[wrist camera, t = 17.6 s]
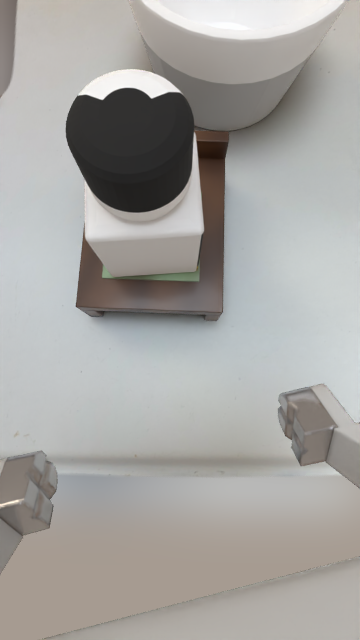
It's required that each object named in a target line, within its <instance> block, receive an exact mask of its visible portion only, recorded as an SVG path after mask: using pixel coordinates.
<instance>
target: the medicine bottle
mask: <svg viewBox="0 0 360 640" xmlns="http://www.w3.org/2000/svg"><path fill="white" fill-rule="evenodd" d="M66 138H67V142H68V146H69V148H70V150H71V153H72V155H73V157H74V159H75V161H76V163H77V165H78V167H79V169H80V171H81V173H82V175H83V177H84V194H85V238H86V241H87V242H88V243H89V245H90V246H91V248H92V249H93V250H94V252H95V253H96V255H97V256H98V257H99V259H100V260H101V262H102V263H103V264H104V266H105V267H106V269H107V270H108V271H109V273H110V274H111V275H112V276H113V277H123V276H138V275H153V274H168V273H184V272H195V271H197V269H198V265H199V259H200V252H201V246H202V240H203V234H204V222H203V210H202V199H201V188H200V176H199V165H198V153H197V142H196V135H195V132H194V117H193V113H192V109H191V107H190V105H189V103H188V101H187V99H186V98H185V96H184V95H183V94H182V93H181V92H180V90H179V89H177V88H176V87H175V86H174V85H173V84H172V83H171V82H169V81H168V80H166V79H165V78H163V77H161V76H159V75H157V74H154V73H152V72H148V71H144V70H136V69H125V70H118V71H114V72H110V73H107V74H105V75H102V76H100V77H98V78H96V79H95V80H93V81H92V82H90V83H89V84H88V85H87V86H86V87H85V88H83V89H82V91H81V92H80V93H79V94H78V95H77V97H76V99H75V100H74V102H73V104H72V106H71V108H70V111H69V113H68V117H67V121H66Z"/></svg>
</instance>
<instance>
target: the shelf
mask: <svg viewBox="0 0 360 640" xmlns="http://www.w3.org/2000/svg"><path fill="white" fill-rule="evenodd" d="M194 132H195V135H196V142H197V153H198V165H199V176H200V188H201V199H202V210H203V222H204V234H203V240H202V246H201V252H200V259H199V265H198V269H197V271H195V272H184V273H168V274H153V275H138V276H123V277H113V276H112V275H111V274H110V273H109V271H108V270H107V269H106V267H105V266H104V264H103V263H102V262H101V260H100V259H99V257H98V256H97V255H96V253H95V252H94V250H93V249H92V248H91V246H90V245H89V243H88V242H87V241H86V238H85V223H84V233H83V242H82V252H81V262H80V271H79V281H78V291H77V300H76V307H77V308H79V309H80V310H82V311H83V312H85V313H86V314H88V315H90V316H100V317H102V316H103V311H122V312H148V313H174V314H200V315H204V320H206V321H217V320H218V318H219V317H220V315H221V314H222V313H223V263H224V196H225V157H226V152H227V147H228V142H229V132H225V131H194Z"/></svg>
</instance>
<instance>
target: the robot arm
mask: <svg viewBox="0 0 360 640" xmlns="http://www.w3.org/2000/svg"><path fill="white" fill-rule="evenodd" d="M278 401H279V403H280V405H281V406H280V407H279V408H278V418H279V423H280V425H281V428H282V430H283V432H284V434H285V436H286V437H288V438H289V439H291V440H292V446H291V448H292V450H293V452H294V454H295V456H296V458H297V460H298V462H299V463H300V465H301V466H305V465H310V464H314V463H319V462H324V461H326V463H328V464H329V465H330V466H331V467H333V468H334V469H335V470H337V471H338V472H339V473H340V474H342V475H343V476H344V477H346V478H347V479H348V480H349V481H351V482H352V483H353V484H354V485H356V486H357V487H358V488H360V422H359V423H355V422H354V421H353V420H352V418H351V417H350V416H349V414H348V413H347V412H346V411H345V409H344V408H343V407H342V405H341V404H340V403H339V402H338V400H337V399H336V398H335V396H334V395H333V394H332V392H331V391H330V390H329V389H328V387H327V386H326V385H324V384H318V385H315V386H311V387H305V388H301V389H297V390H293V391H289V392H285V393H281V394H280V395H279V399H278ZM46 456H47V455H46V454H45V453H44V452H43V451H42V450H41V451H37V452H32V453H27V454H23V455H18V456H14V457H9V458H4V459H0V574H1V572H2V571H3V569H4V568H5V566H6V564H7V563H8V561H9V559H10V557H11V556H12V555H13V553H14V551H15V550H16V548H17V546H18V545H19V543H20V542H21V540H22V538H23V535H27V534H30V533H34V532H38V531H41V530H45V529H48V528H50V522H51V517H52V511H53V504H52V502H51V500H50V499H51V498H52V496H53V495H54V493H55V492H56V489H57V483H58V479H57V471H56V468H55V466H54V465H53V463H51V462H49V461H46ZM40 640H360V556H359V557H355V558H351V559H348V560H343V561H340V562H336V563H332V564H328V565H325V566H320V567H316V568H313V569H309V570H305V571H301V572H298V573H293V574H290V575H286V576H282V577H278V578H274V579H270V580H267V581H263V582H259V583H255V584H251V585H248V586H244V587H240V588H236V589H232V590H229V591H225V592H221V593H217V594H213V595H209V596H205V597H201V598H197V599H194V600H190V601H186V602H182V603H178V604H175V605H171V606H167V607H163V608H159V609H156V610H151V611H148V612H144V613H140V614H136V615H133V616H128V617H125V618H121V619H117V620H113V621H109V622H106V623H102V624H98V625H94V626H90V627H87V628H83V629H79V630H75V631H71V632H67V633H63V634H59V635H56V636H52V637H48V638H44V639H40Z"/></svg>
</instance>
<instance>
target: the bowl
mask: <svg viewBox="0 0 360 640" xmlns="http://www.w3.org/2000/svg"><path fill="white" fill-rule="evenodd" d="M348 2H349V0H129V3H130V6H131V9H132V12H133V15H134V18H135V21H136V23H137V26H138V29H139V31H140V34H141V36H142V39H143V42H144V45H145V48H146V51H147V54H148V57H149V60H150V62H151V65H152V68H153V71H154V74H157V75H159V76H161V77H163V78H165V79H166V80H168V81H169V82H171V83H172V84H173V85H174V86H175V87H176V88H177V89H179V90H180V92H181V93H182V94H183V95H184V96H185V98H186V99H187V101H188V103H189V105H190V107H191V109H192V113H193V117H194V125H195V126H198V127H201V128H204V129H208V130H217V131H229V130H237V129H241V128H245V127H248V126H250V125H253V124H255V123H257V122H259V121H260V120H262V119H263V118H265V117H266V116H267V115H268V114H269V113H270V112H271V111H272V110H273V109H274V108H275V107H276V106H277V104H278V103H279V101H280V100H281V99H282V97H283V96H284V94H285V93H286V91H287V90H288V88H289V87H290V85H291V84H292V82H293V81H294V80H295V78H296V77H297V75H298V74H299V72H300V71H301V69H302V68H303V66H304V65H305V63H306V62H307V61H308V59H309V58H310V56H311V55H312V53H313V52H314V50H315V49H316V48H317V47H318V45H319V44H320V42H321V41H322V39H323V38H324V37H325V35H326V34H327V32H328V31H329V29H330V28H331V26H332V25H333V23H334V22H335V20H336V19H337V18H338V16H339V15H340V13H341V12H342V10H343V9H344V7H345V6H346V4H347V3H348Z"/></svg>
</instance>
